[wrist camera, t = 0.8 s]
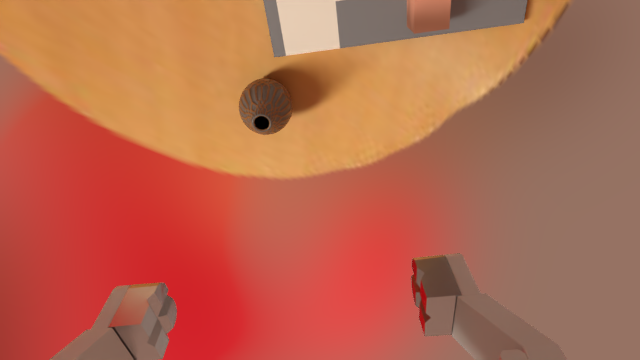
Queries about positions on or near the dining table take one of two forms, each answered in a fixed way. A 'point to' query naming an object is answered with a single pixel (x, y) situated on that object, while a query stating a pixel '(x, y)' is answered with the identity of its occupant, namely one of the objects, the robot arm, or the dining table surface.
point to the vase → (265, 106)
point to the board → (371, 21)
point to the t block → (428, 15)
